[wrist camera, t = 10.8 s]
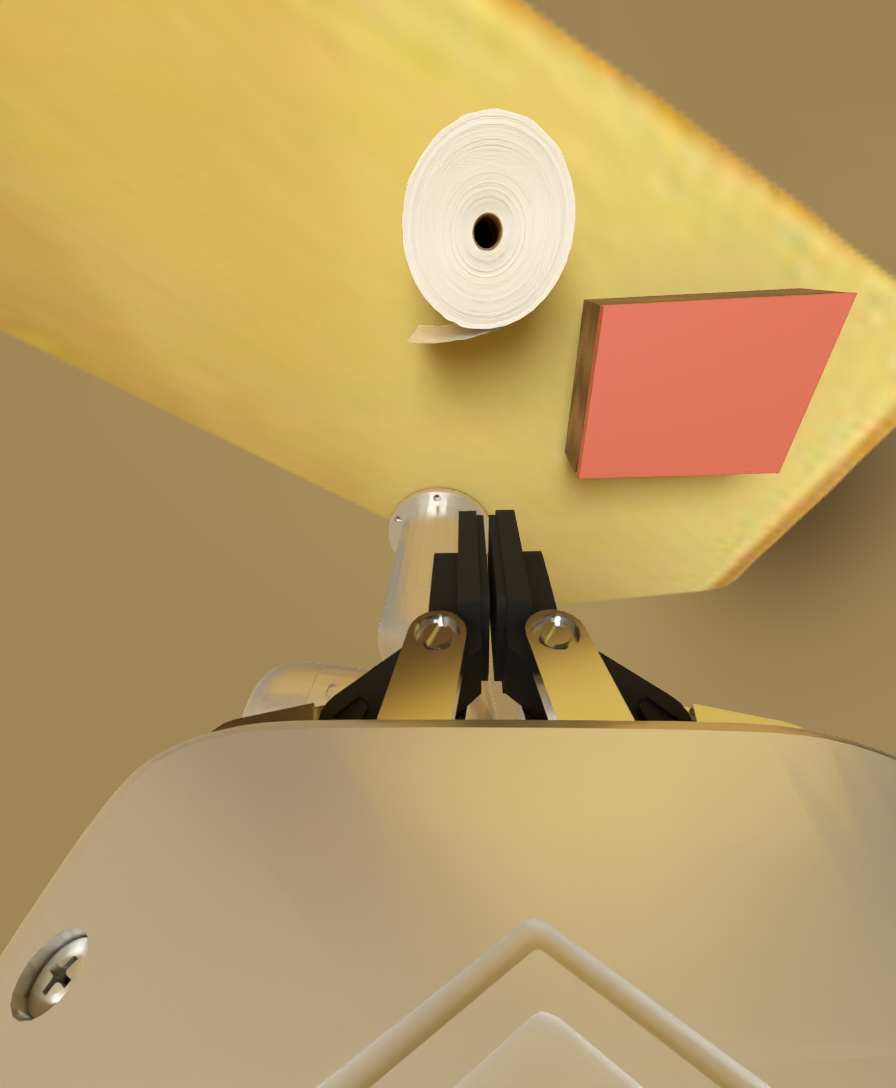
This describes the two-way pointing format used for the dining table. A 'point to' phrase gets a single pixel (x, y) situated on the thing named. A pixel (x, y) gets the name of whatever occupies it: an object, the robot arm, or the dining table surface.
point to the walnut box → (588, 344)
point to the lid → (704, 383)
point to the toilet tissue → (487, 223)
